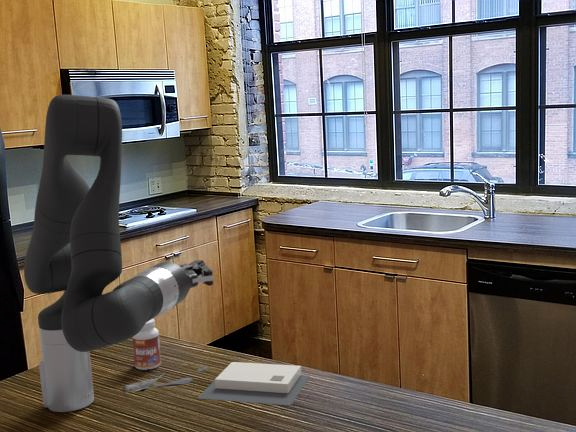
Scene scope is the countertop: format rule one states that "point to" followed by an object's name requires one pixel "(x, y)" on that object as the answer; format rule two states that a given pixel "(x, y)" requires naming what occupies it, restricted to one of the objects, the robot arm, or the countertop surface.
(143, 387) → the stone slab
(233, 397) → the rubber mat
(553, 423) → the countertop surface
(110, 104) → the robot arm
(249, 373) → the flat white box
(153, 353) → the pill bottle
